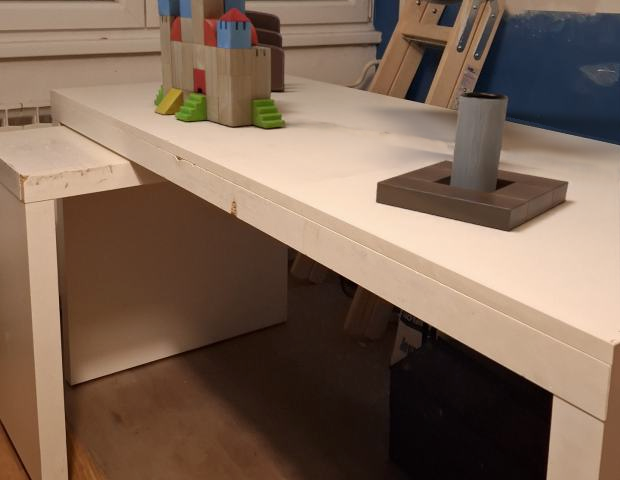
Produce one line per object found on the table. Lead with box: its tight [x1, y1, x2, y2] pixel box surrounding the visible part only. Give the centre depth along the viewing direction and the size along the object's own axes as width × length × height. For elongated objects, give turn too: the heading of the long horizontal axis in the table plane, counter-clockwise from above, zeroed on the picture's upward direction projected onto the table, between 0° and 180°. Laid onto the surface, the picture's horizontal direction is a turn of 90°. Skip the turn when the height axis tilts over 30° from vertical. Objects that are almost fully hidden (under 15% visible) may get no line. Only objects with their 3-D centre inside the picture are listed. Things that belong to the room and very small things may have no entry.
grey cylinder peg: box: [450, 91, 509, 193], centre depth 75 cm, size 4×4×10 cm
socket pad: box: [375, 159, 569, 232], centre depth 76 cm, size 14×14×2 cm
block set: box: [153, 0, 286, 129], centre depth 115 cm, size 28×14×19 cm, turn 37°
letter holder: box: [245, 9, 286, 93], centre depth 145 cm, size 10×20×14 cm, turn 98°
